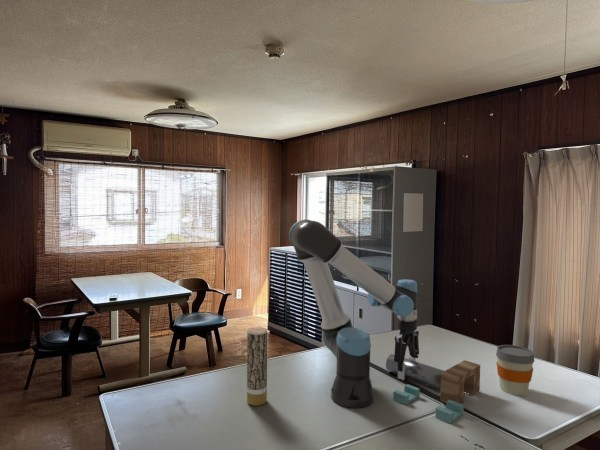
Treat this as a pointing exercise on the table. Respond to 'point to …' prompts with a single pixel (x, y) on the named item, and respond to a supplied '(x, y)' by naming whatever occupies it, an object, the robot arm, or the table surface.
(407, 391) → the v-blocks
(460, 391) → the brown wooden arched block
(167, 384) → the table surface
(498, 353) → the reusable coffee cup
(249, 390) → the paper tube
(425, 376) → the steel axle
